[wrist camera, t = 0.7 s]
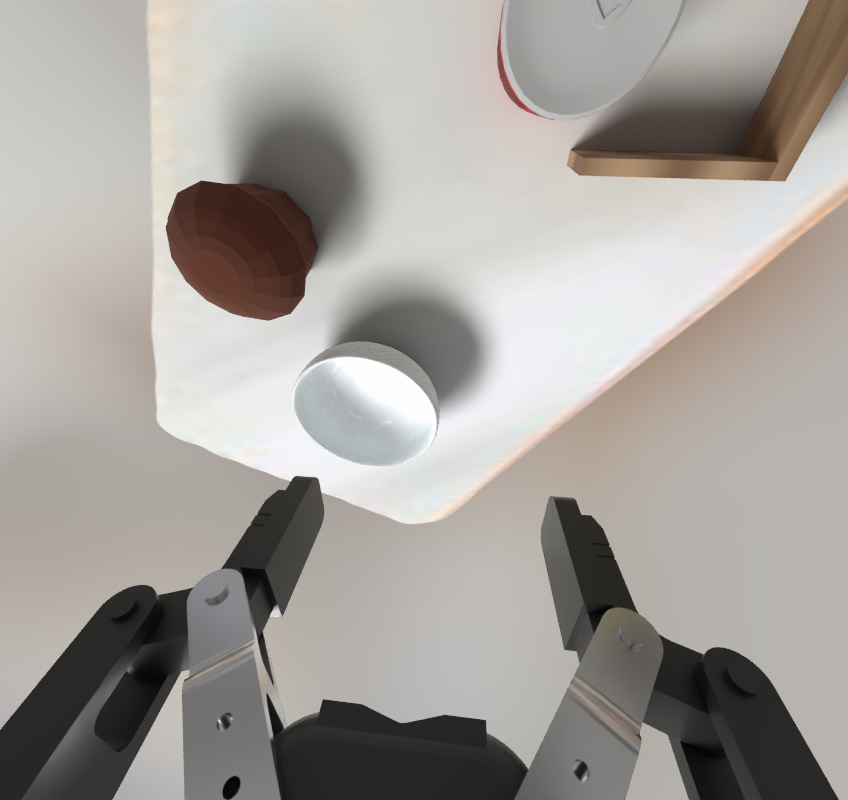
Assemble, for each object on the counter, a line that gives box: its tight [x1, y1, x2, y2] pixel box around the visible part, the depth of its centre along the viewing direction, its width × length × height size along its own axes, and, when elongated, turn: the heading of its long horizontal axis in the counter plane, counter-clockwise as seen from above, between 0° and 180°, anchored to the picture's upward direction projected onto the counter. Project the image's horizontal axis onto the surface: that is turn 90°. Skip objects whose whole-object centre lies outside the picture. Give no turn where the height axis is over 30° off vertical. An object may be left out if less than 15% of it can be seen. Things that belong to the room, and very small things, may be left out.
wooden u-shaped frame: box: [567, 0, 848, 181], centre depth 21 cm, size 13×14×5 cm
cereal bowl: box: [292, 341, 439, 467], centre depth 43 cm, size 17×17×7 cm
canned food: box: [497, 0, 686, 120], centre depth 20 cm, size 8×8×11 cm
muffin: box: [166, 181, 318, 321], centre depth 31 cm, size 12×11×10 cm
